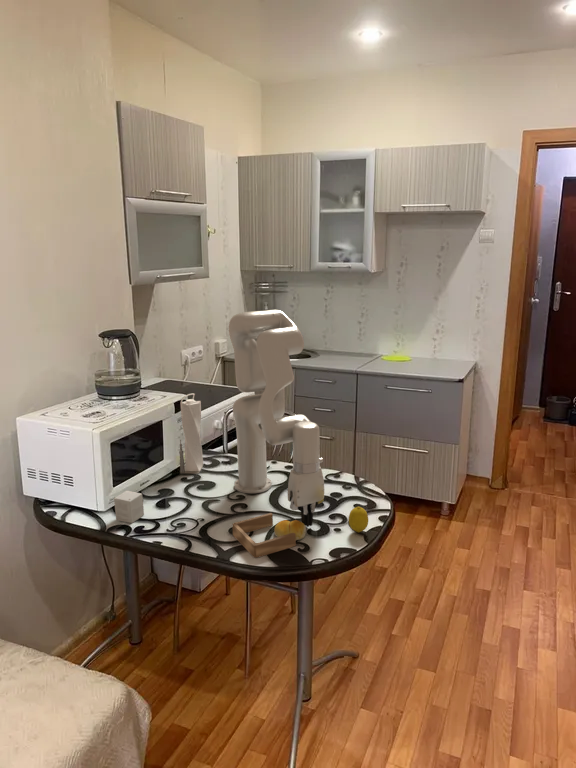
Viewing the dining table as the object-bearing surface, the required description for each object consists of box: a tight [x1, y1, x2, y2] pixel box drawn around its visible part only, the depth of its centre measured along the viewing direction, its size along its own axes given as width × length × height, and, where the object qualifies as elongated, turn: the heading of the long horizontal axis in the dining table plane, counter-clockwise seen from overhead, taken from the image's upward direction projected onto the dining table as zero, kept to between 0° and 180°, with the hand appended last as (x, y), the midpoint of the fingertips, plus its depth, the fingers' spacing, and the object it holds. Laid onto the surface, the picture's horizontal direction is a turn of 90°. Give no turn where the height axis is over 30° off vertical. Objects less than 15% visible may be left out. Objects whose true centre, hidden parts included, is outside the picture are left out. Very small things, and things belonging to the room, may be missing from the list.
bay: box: [231, 512, 297, 559], centre depth 164 cm, size 14×12×4 cm
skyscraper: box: [178, 393, 204, 475], centre depth 212 cm, size 8×8×28 cm
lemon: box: [348, 506, 369, 534], centre depth 167 cm, size 6×6×8 cm
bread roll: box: [273, 519, 307, 541], centre depth 167 cm, size 8×9×4 cm
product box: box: [113, 490, 145, 524], centre depth 178 cm, size 6×6×7 cm
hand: (307, 524), depth 171 cm, fingers closed
